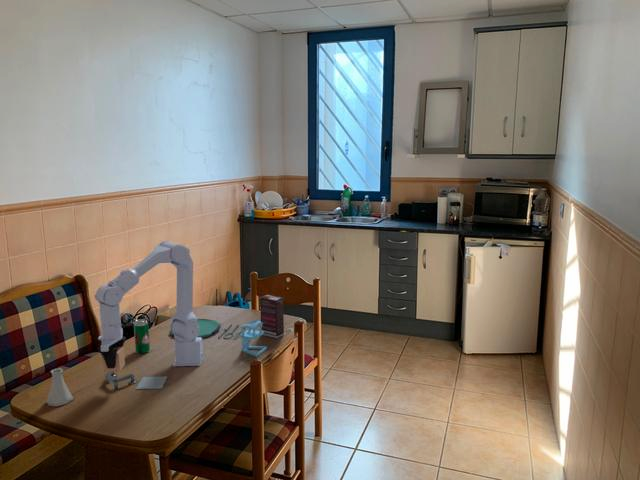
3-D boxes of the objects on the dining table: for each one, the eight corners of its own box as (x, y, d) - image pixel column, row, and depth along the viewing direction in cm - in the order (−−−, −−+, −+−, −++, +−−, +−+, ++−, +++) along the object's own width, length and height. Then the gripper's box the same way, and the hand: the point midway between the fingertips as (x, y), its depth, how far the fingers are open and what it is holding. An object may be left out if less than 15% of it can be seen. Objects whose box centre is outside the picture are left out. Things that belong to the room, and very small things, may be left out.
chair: (248, 345, 197) (247, 316, 195) (267, 349, 194) (266, 319, 192) (237, 353, 190) (236, 322, 188) (256, 356, 187) (255, 325, 185)
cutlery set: (183, 321, 224) (183, 316, 224) (249, 326, 219) (249, 321, 218) (162, 338, 205) (161, 333, 204) (233, 345, 200) (233, 340, 199)
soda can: (145, 354, 189) (143, 324, 186) (133, 353, 190) (130, 323, 187) (152, 349, 194) (150, 319, 191) (140, 348, 195) (138, 318, 192)
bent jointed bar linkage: (141, 373, 173) (141, 365, 173) (132, 388, 163) (131, 380, 162) (110, 374, 173) (109, 366, 172) (98, 389, 162) (98, 381, 162)
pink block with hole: (125, 364, 164) (123, 346, 163) (120, 371, 160) (118, 353, 158) (109, 364, 164) (107, 347, 163) (103, 371, 159) (102, 353, 158)
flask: (55, 409, 151) (52, 378, 149) (41, 403, 154) (38, 372, 152) (78, 399, 157) (75, 368, 155) (64, 393, 160) (61, 363, 158)
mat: (167, 377, 171) (167, 376, 171) (161, 388, 163) (161, 387, 163) (143, 377, 170) (143, 377, 170) (136, 389, 163) (136, 388, 163)
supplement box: (284, 334, 208) (284, 297, 205) (277, 338, 204) (276, 300, 201) (267, 330, 213) (267, 294, 210) (260, 334, 209) (259, 297, 206)
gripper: (105, 315, 166) (109, 354, 168) (88, 332, 152) (92, 374, 154) (128, 315, 166) (131, 354, 169) (113, 331, 152) (116, 373, 155)
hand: (114, 363), depth 162 cm, fingers closed on pink block with hole, 5 cm apart
